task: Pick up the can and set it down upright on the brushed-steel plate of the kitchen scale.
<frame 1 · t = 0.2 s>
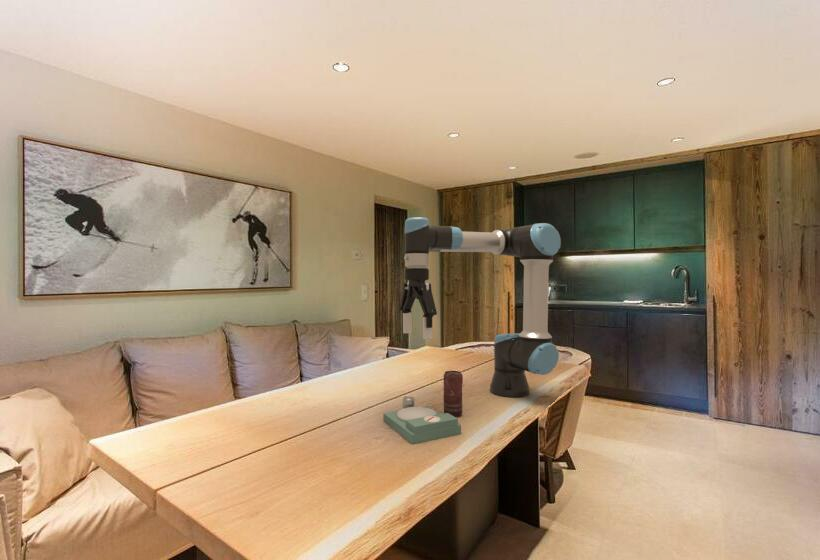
hand: (417, 335, 126), 27 cm above the table, fingers open, 13 cm apart
spacer: (408, 409, 139), on the table
scale: (420, 427, 123), on the table
can: (453, 415, 134), on the table
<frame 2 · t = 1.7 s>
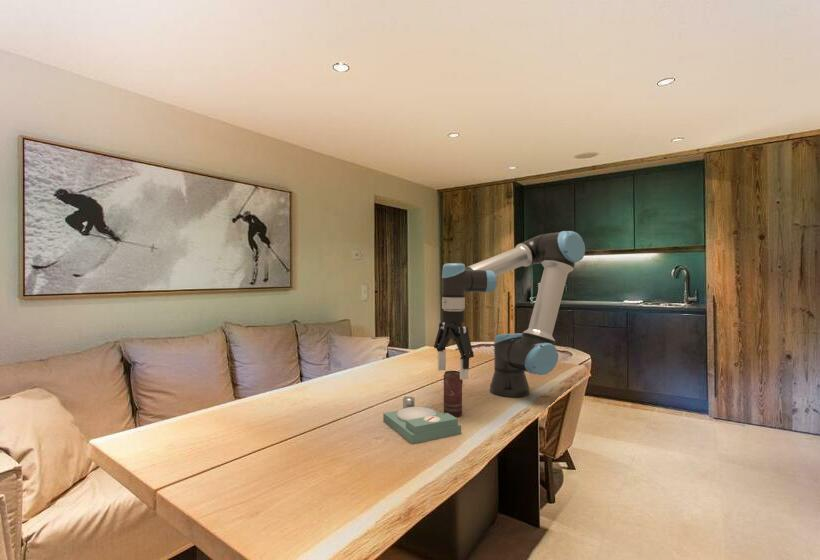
hand: (452, 374, 134), 13 cm above the table, fingers open, 13 cm apart
nothing on the table moved.
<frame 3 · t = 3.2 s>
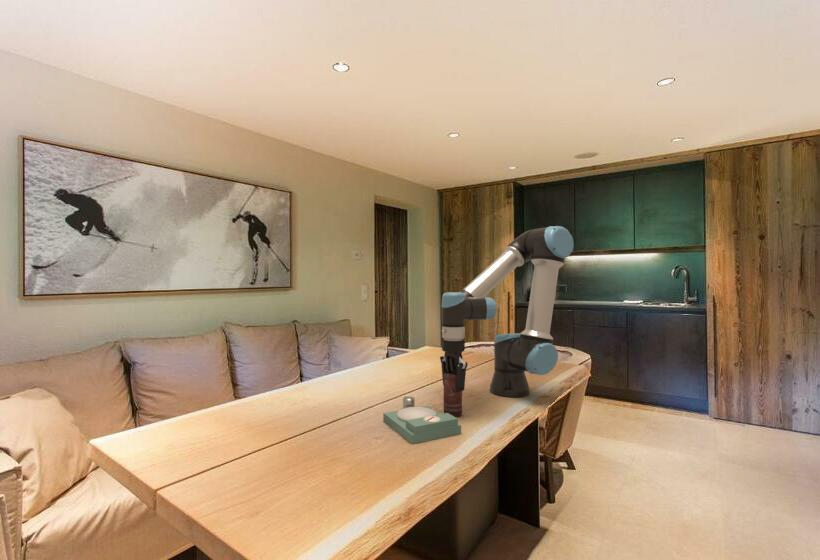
hand: (453, 409, 134), 1 cm above the table, fingers closed
nothing on the table moved.
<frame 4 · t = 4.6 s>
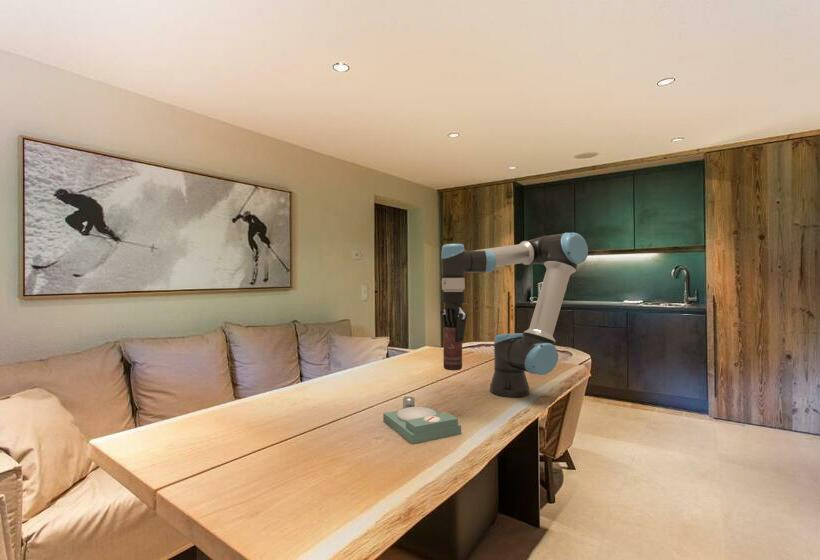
hand: (454, 362, 134), 17 cm above the table, fingers closed
can: (453, 369, 134), point 15 cm above the table, touching hand
everything else where it was.
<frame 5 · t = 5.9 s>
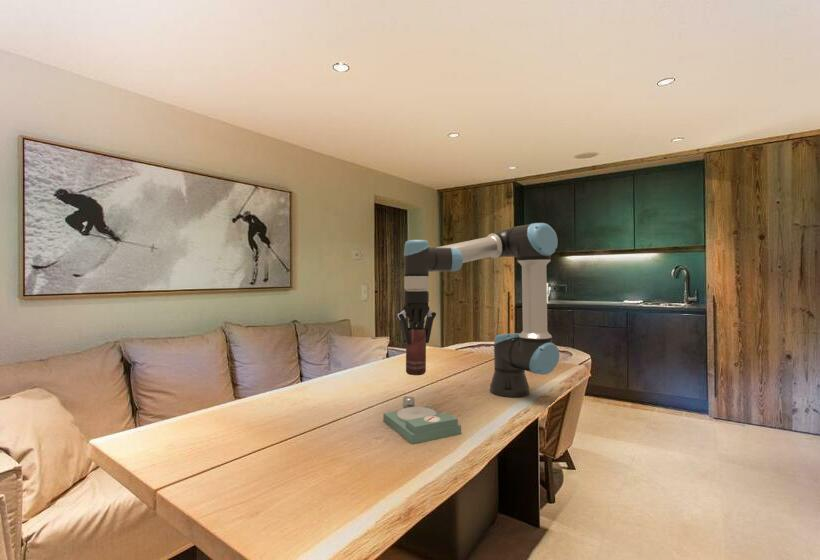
hand: (416, 366, 125), 18 cm above the table, fingers closed
can: (415, 373, 125), point 16 cm above the table, touching hand
everything else where it was.
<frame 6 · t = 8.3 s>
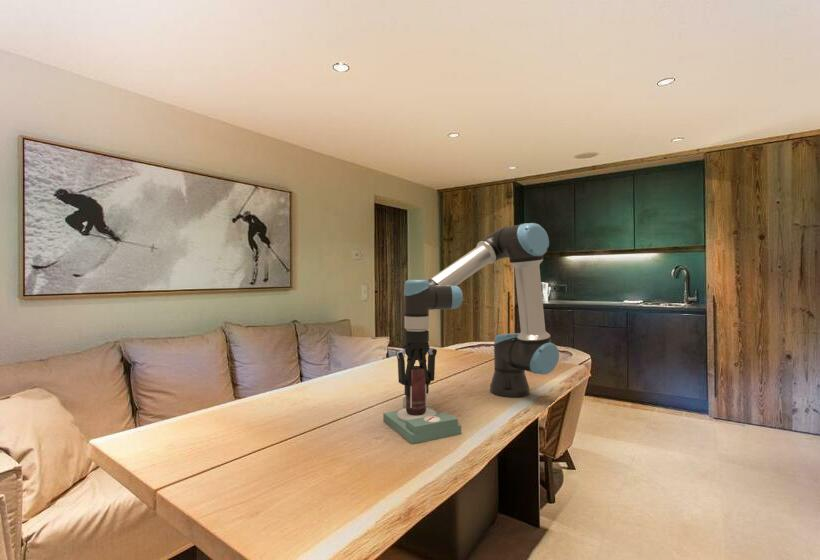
hand: (416, 405, 125), 6 cm above the table, fingers open, 4 cm apart
can: (416, 413, 125), point 3 cm above the table, touching scale
everything else where it was.
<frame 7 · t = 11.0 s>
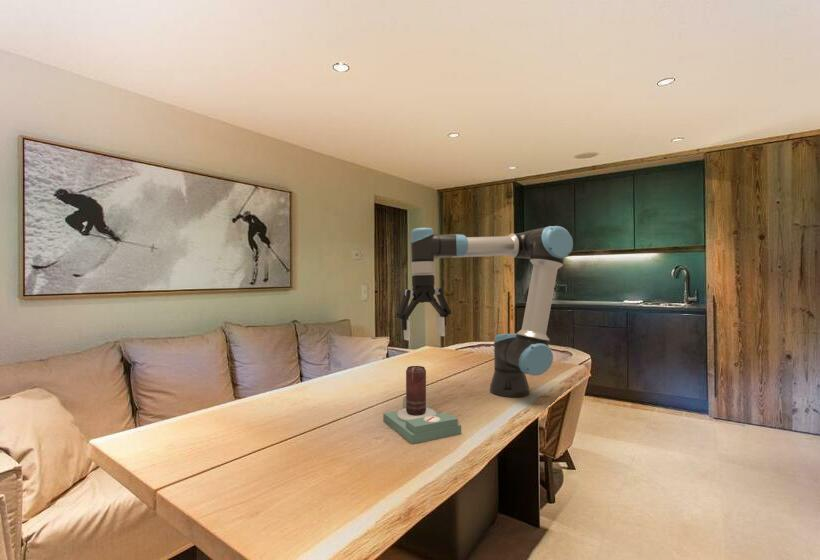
hand: (424, 337, 136), 25 cm above the table, fingers open, 13 cm apart
nothing on the table moved.
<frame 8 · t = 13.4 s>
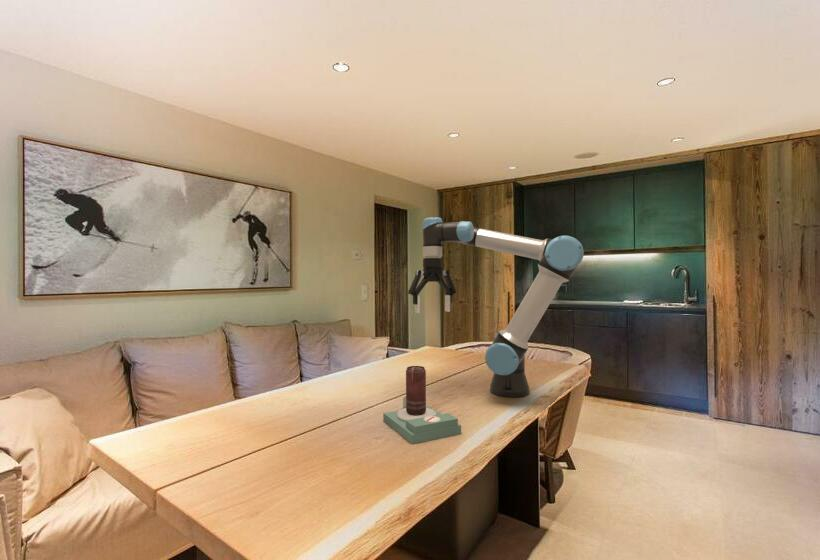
hand: (432, 312, 158), 32 cm above the table, fingers open, 13 cm apart
nothing on the table moved.
at the end: can inside the target area on the scale (0.4 cm from its centre), point 3.3 cm above the scale's base; can touching scale; can tilted 0° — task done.
